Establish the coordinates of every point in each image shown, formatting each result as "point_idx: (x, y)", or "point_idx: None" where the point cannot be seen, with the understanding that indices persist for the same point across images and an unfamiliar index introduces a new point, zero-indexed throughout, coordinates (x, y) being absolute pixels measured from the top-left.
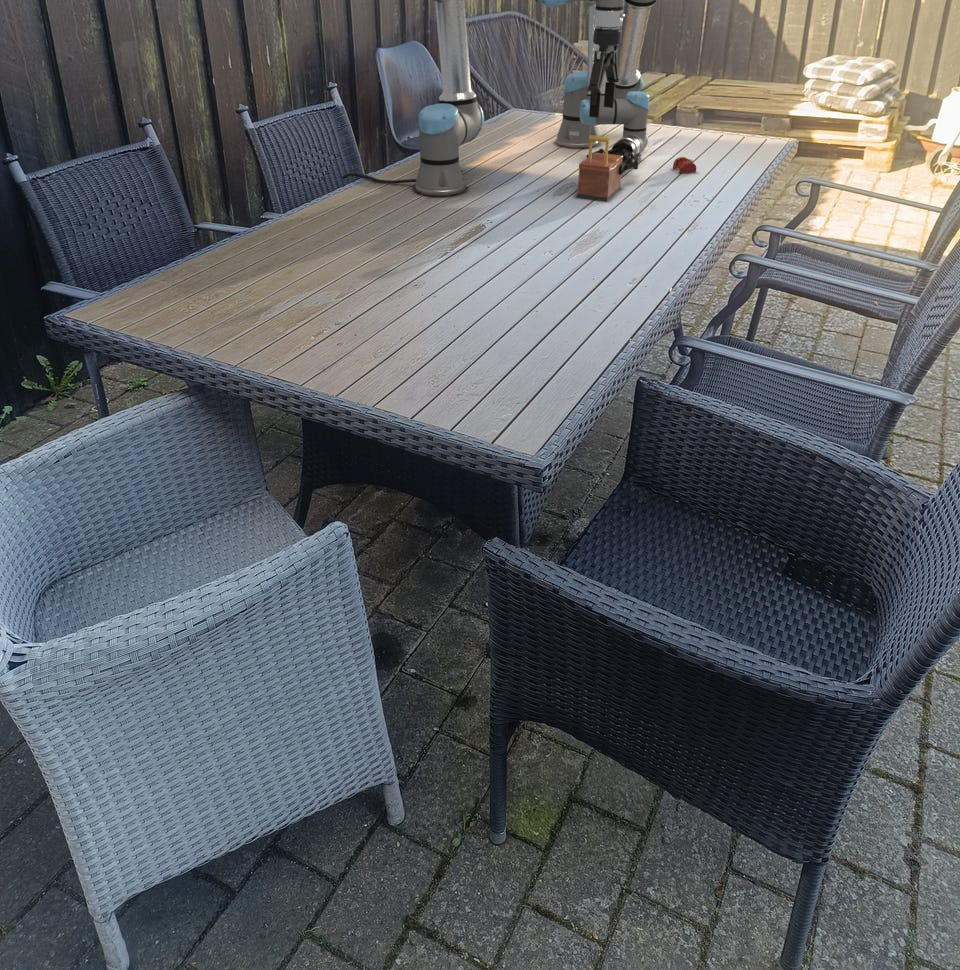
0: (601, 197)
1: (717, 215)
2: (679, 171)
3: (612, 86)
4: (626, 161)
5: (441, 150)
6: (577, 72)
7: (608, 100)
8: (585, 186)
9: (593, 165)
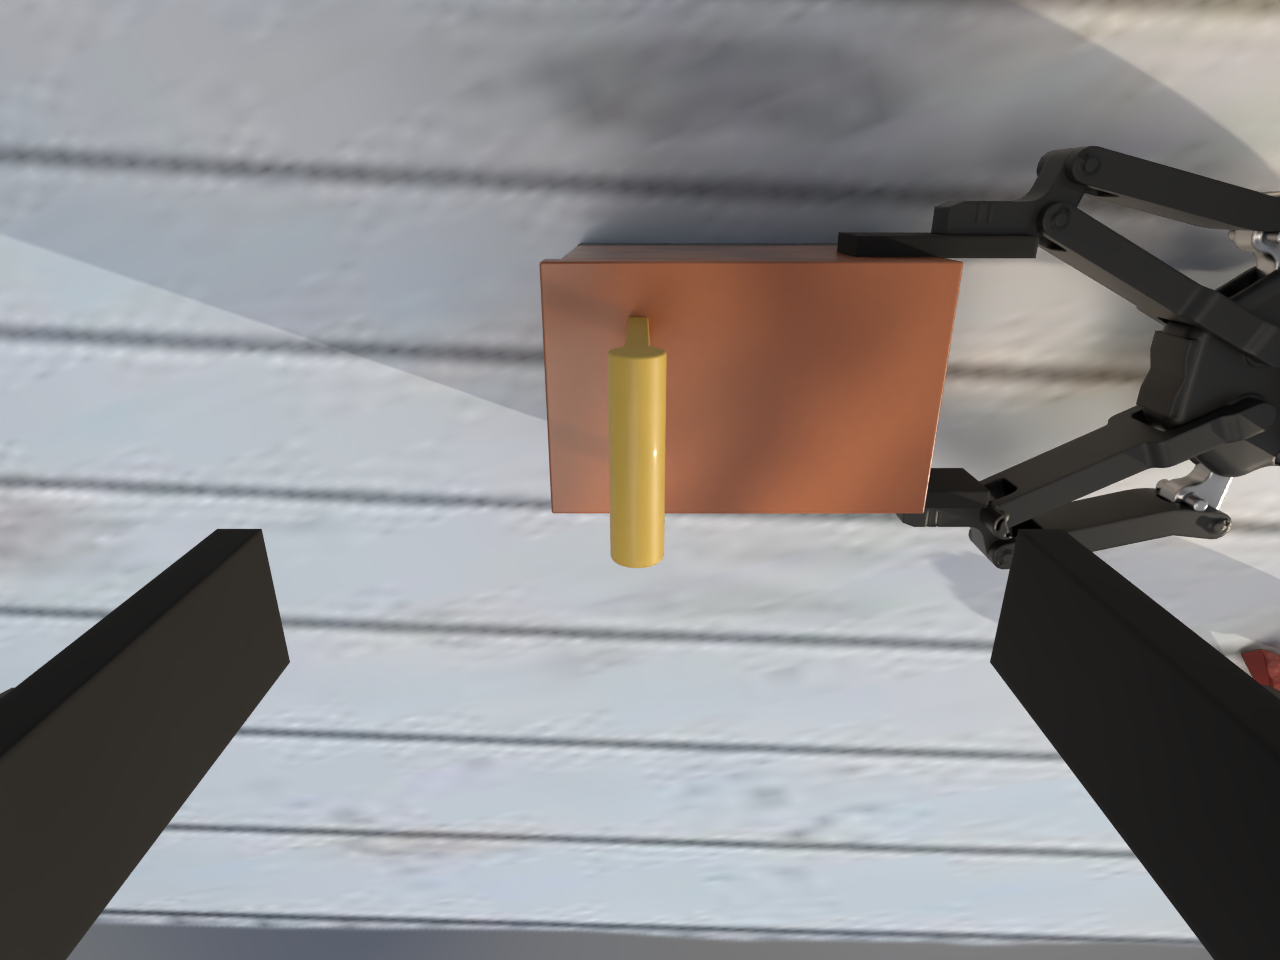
0: None
1: (606, 892)
2: (1253, 654)
3: (1236, 932)
4: (953, 506)
5: None
6: None
7: (1062, 657)
8: None
9: (549, 390)
